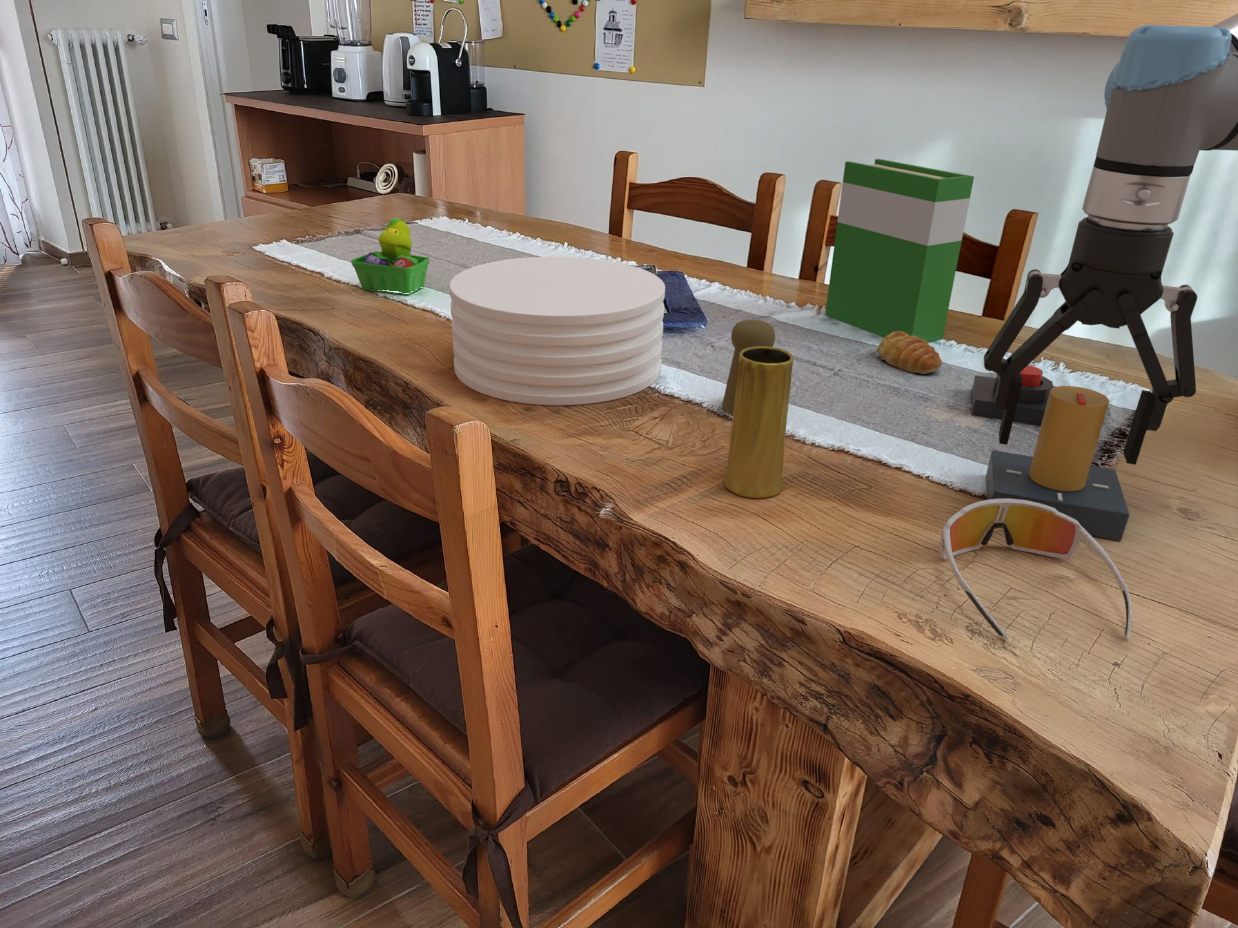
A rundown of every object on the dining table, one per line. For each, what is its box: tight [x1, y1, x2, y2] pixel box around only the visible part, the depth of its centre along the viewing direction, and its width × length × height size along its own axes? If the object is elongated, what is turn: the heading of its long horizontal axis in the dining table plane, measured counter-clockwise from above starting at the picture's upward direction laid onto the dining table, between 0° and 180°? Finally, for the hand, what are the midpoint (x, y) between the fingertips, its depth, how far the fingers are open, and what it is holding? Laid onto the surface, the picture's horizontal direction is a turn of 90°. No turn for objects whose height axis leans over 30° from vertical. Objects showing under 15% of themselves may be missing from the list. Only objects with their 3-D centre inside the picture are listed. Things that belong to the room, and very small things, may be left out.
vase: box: [723, 346, 795, 499], centre depth 91 cm, size 6×6×14 cm
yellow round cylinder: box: [1029, 385, 1110, 492], centre depth 89 cm, size 5×5×9 cm
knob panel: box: [985, 449, 1130, 542], centre depth 92 cm, size 12×10×3 cm
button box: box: [971, 373, 1057, 427], centre depth 114 cm, size 11×9×4 cm
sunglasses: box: [939, 499, 1133, 641], centre depth 78 cm, size 14×15×5 cm
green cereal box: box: [824, 158, 975, 344], centre depth 139 cm, size 18×7×24 cm, turn 33°
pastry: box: [876, 331, 943, 375], centre depth 128 cm, size 9×7×4 cm
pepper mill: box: [721, 319, 776, 416], centre depth 111 cm, size 6×6×11 cm
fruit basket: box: [350, 217, 431, 296], centre depth 153 cm, size 11×9×11 cm
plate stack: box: [449, 256, 666, 406], centre depth 122 cm, size 28×28×12 cm
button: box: [1019, 364, 1044, 386], centre depth 113 cm, size 4×4×2 cm
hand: (1064, 448), depth 90 cm, fingers open, 11 cm apart
